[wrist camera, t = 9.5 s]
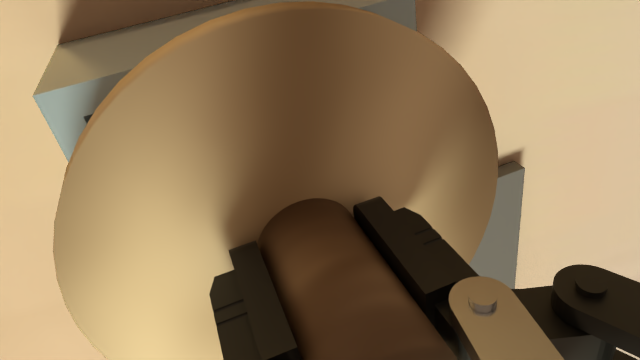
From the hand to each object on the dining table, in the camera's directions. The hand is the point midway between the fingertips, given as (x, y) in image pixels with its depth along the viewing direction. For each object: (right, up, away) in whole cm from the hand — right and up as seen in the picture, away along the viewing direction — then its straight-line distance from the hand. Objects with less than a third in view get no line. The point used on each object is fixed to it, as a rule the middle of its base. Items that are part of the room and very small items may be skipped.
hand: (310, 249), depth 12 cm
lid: (0, +1, +1) cm, 1 cm away
